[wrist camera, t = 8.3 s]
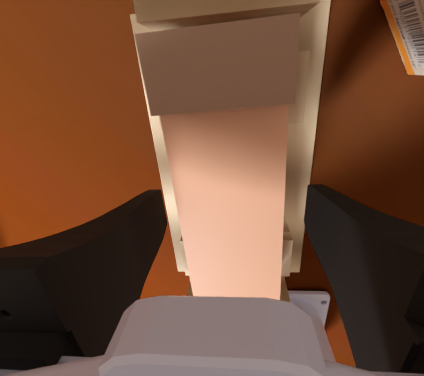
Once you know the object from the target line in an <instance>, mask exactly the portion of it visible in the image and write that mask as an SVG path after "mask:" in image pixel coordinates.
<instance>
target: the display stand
mask: <svg viewBox="0 0 424 376" xmlns="http://www.w3.org/2000/svg"><path fill="white" fill-rule="evenodd" d="M133 3H134V8H135V14H131V15H130V18H131V23H132V29H133V34H134V39H135V34H139V33H146V32H154V31H162V30H169V29H177V28H185V27H193V26H200V25H208V24H216V23H223V22H231V21H239V20H247V19H254V18H262V17H270V16H277V15H285V14H293V13H300V27H299V45H298V63H297V81H296V99H295V104H289V112H288V135H287V157H286V179H285V202H284V224H283V246H282V268H281V291H280V300H281V301H286V302H290V298H289V294H288V290H287V285H286V281H285V277H284V276H290V272H300V263H301V255H302V246H303V237H304V229H305V224H304V214H305V205H306V196H307V187H308V185H310V176H311V168H312V159H313V150H314V142H315V133H316V124H317V116H318V107H319V98H320V90H321V81H322V72H323V63H324V55H325V46H326V37H327V29H328V20H329V11H330V3H331V0H133ZM135 44H136V39H135ZM136 50H137V55H138V60H139V66H140V71H141V76H142V82H143V87H144V92H145V98H146V103H147V108H148V114H149V119H150V124H151V130H152V135H153V140H154V145H155V151H156V156H157V161H158V167H159V172H160V177H161V183H162V188H163V193H164V199H165V204H166V209H167V215H168V220H169V225H170V231H171V236H172V241H173V247H174V252H175V257H176V262H177V268H178V271H185V274H186V275H189V271H188V266H187V260H186V255H185V249H184V244H183V239H182V233H181V228H180V222H179V217H178V212H177V206H176V201H175V196H174V190H173V185H172V179H171V174H170V169H169V163H168V158H167V153H166V147H165V142H164V136H163V131H162V126H161V120H160V116H151V114H150V109H149V104H148V99H147V94H146V89H145V84H144V79H143V74H142V69H141V64H140V59H139V54H138V49H137V44H136ZM187 296H193V292H192V287H191V282H190V285H189V290H188V295H187Z"/></svg>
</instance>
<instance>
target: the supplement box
mask: <svg viewBox="0 0 424 376" xmlns="http://www.w3.org/2000/svg"><path fill="white" fill-rule="evenodd" d="M380 4H381V6H382V8H383V9H384V12H385V16H386V18H387V20H388V23H389V26H390V28H391V31H392V34H393V37H394V39H395V41H396V45H397V47H398V50H399V53H400V55H401V58H402V61H403V62H404V65H405V69H406V71H407V74H409V75H424V0H380Z"/></svg>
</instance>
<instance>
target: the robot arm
mask: <svg viewBox="0 0 424 376" xmlns="http://www.w3.org/2000/svg"><path fill="white" fill-rule="evenodd" d="M304 224H305V227H306V231H307V234H308V237H309V240H310V242H311V244H312V246H313V248H314V250H315V253H316V255H317V257H318V259H319V261H320V263H321V265H322V267H323V269H324V271H325V274H326V276H327V278H328V280H329V283H330V285H331V288H332V290H333V293H334V296H335V299H336V302H337V305H338V308H339V311H340V314H341V317H342V320H343V324H344V327H345V330H346V333H347V337H348V340H349V343H350V347H351V350H352V354H353V357H354V360H355V364H356V368H355V367H351V366H347V365H344V364H340V363H336V361H335V358H334V355H333V352H332V349H331V347H330V344H329V341H328V338H327V335H326V332H325V329H324V326H325V321H326V317H327V312H328V307H329V302H330V295H329V293H328V292H326V291H288V294H289V298H290V302H286V301H281V300H276V299H271V298H266V297H213V296H155V297H150V298H144V299H140V296H141V292H142V289H143V286H144V283H145V280H146V278H147V275H148V273H149V271H150V268H151V266H152V264H153V261H154V259H155V257H156V255H157V252H158V250H159V248H160V245H161V243H162V241H163V238H164V234H165V230H166V226H167V219H166V214H165V209H164V204H163V198H162V193H161V190H148V191H145V192H143V193H141V194H140V195H138V196H136V197H134V198H133V199H131V200H129V201H128V202H126V203H124V204H122V205H121V206H119V207H117V208H115V209H113V210H111V211H110V212H108V213H106V214H104V215H102V216H100V217H98V218H96V219H94V220H91V221H89V222H87V223H84V224H82V225H80V226H77V227H74V228H71V229H69V230H66V231H63V232H60V233H57V234H54V235H51V236H48V237H44V238H41V239H37V240H34V241H30V242H26V243H22V244H18V245H13V246H9V247H4V248H0V376H424V227H423V226H420V225H416V224H413V223H410V222H407V221H404V220H401V219H398V218H395V217H392V216H390V215H387V214H384V213H382V212H379V211H377V210H375V209H372V208H370V207H368V206H365V205H363V204H361V203H359V202H357V201H355V200H353V199H351V198H349V197H347V196H345V195H343V194H341V193H339V192H337V191H335V190H333V189H331V188H329V187H327V186H324V185H321V184H319V185H308V187H307V196H306V205H305V214H304ZM139 299H140V300H139Z"/></svg>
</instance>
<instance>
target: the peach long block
mask: <svg viewBox="0 0 424 376" xmlns="http://www.w3.org/2000/svg"><path fill="white" fill-rule="evenodd" d="M299 27H300V13H293V14H285V15H277V16H270V17H262V18H254V19H247V20H239V21H231V22H223V23H216V24H208V25H200V26H193V27H185V28H177V29H169V30H162V31H154V32H146V33H139V34H135V39H136V44H137V49H138V54H139V59H140V64H141V69H142V74H143V79H144V84H145V89H146V94H147V99H148V104H149V109H150V114H151V116H160V120H161V126H162V131H163V136H164V142H165V147H166V153H167V158H168V163H169V169H170V174H171V179H172V185H173V190H174V196H175V201H176V206H177V212H178V217H179V222H180V228H181V233H182V239H183V244H184V249H185V255H186V260H187V266H188V271H189V276H190V282H191V287H192V292H193V296H213V297H266V298H271V299H276V300H280V291H281V268H282V246H283V224H284V202H285V179H286V157H287V135H288V112H289V104H295V99H296V81H297V63H298V45H299Z"/></svg>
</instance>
